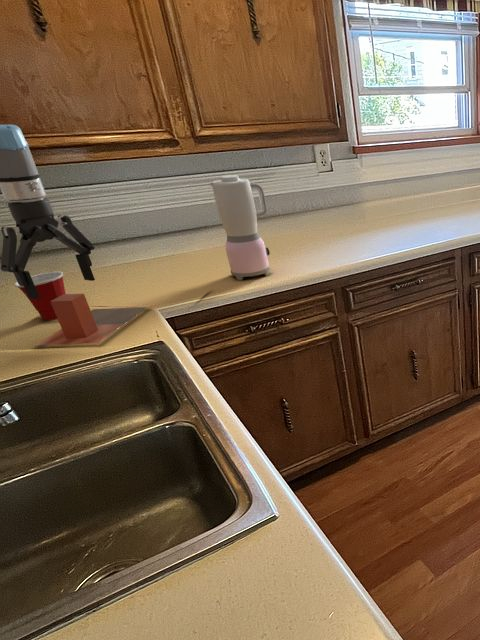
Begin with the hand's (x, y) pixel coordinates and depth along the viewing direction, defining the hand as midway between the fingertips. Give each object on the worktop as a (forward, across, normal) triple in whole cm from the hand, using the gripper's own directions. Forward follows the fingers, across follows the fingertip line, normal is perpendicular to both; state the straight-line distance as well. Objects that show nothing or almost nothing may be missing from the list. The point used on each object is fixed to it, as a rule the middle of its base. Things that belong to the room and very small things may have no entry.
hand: (63, 288), depth 127 cm
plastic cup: (+13, +7, +20) cm, 25 cm away
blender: (+13, +56, -8) cm, 58 cm away
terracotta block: (+12, 0, 0) cm, 12 cm away
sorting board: (+13, +6, +2) cm, 14 cm away
